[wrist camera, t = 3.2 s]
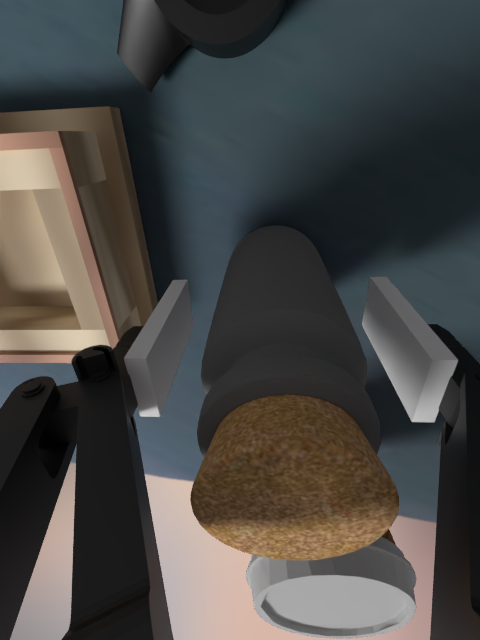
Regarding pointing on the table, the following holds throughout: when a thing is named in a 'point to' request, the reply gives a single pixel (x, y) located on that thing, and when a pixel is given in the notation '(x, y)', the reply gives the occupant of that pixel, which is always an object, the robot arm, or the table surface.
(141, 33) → the dark winged oval cup
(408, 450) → the table surface
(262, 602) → the disposable coffee cup
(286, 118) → the table surface
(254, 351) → the bottle
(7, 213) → the holder block
